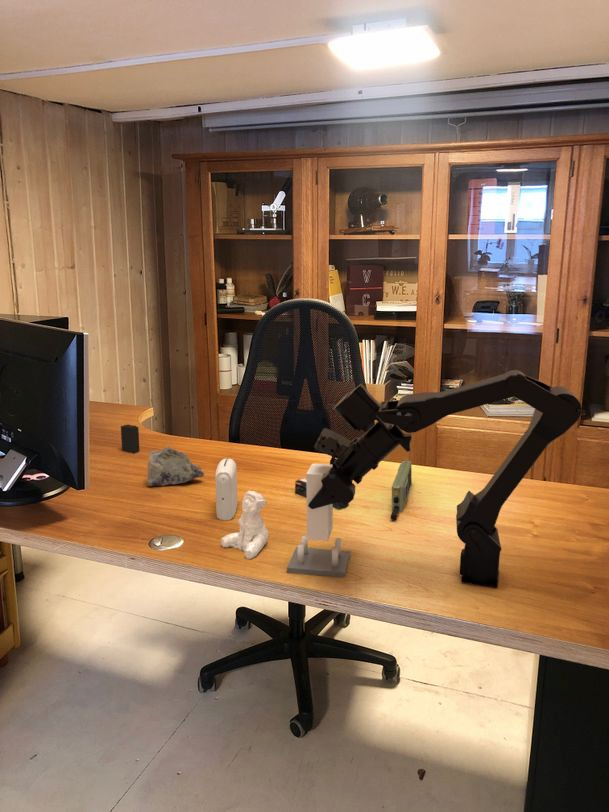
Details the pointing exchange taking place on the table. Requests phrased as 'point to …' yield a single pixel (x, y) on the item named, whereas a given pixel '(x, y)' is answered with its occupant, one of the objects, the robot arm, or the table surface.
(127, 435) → the ink cartridge
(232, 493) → the photo printer
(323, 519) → the block
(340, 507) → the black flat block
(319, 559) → the grey peg board
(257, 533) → the white creature statuette
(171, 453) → the mineral rock
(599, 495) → the table surface
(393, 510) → the handheld radio
